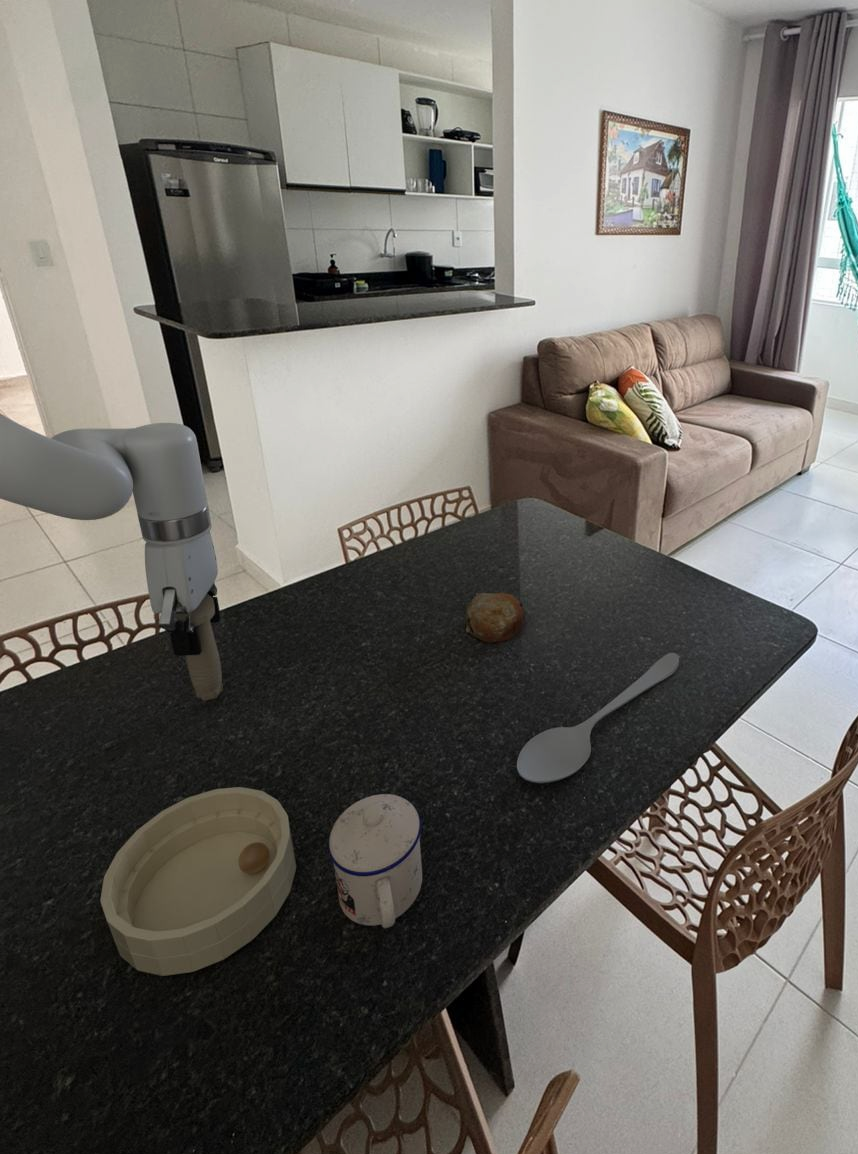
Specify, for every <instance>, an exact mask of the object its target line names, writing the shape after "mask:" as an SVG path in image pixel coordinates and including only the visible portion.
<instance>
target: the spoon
mask: <svg viewBox="0 0 858 1154" xmlns="http://www.w3.org/2000/svg"><path fill="white" fill-rule="evenodd" d="M679 664H680V657H679V655H678V653H676V652H669V653H667V654H664V656H662V657H660V658H659V659H658V660H657V661H655V662H654V663H653V664H652V665H651V666H650V667H649V668H648V670H646V671H645V672H644V673H643V674H642V675H641V676H640V677H639V678H638V679H637V680H635V681H634V682H633V683H632V684H631V685H629V686H627V688H626V689H624V690H623V691H622V692H621V693H619V694H618V695H617V696H616V697H615V698H614V699H612V700H610V702H609V703H607V704H606V705H605V706H603V707H602V708H601V709H599V710H598V711H597V712H596V713H594V714H593V715H592V716H590V717H589V718H587V719H586V720H584V721H583V722H581V723H579V724H576V725H574V726H567V727H566V726H562V727H560V726H559V727H553V728H549V729H547V730H545V731H542V732H539V733H538V734H536V735H535V736H533V737H532V738H530V739H529V740H528V741H527V742H526V743H525V744H524V746H523V747H522V749H521V750H520V752H519V754H518V757H517V759H516V769H517V770H516V771H517V773H518V774H519V776H520V777H521V778H522V779H523V780H525V781H527V782H530V783H534V784H546V783H547V784H548V783H554V782H558V781H561V780H564V779H566V778H569V777H570V776H572V775H574V774H575V773H577V772H578V771H579V770H580V769H582V767H583V766H584V765H585V764H586V763H587V762H588V760H589V758H590V756H591V751H592V745H591V732H592V731H593V728H594V727H595V725H596V724H597V723H598V722H600V720H601V719H603V718H605V717H606V716H608V715H610V714H611V713H613V712H614V711H616V710H617V709H619V708H620V707H622V706H624V705H626V704H627V703H629V702H630V701H632V700H633V699H635V698H636V697H637V696H639V695H641V694H643V693H644V692H645V691H648V690H649V689H650V688H652V687H653V686H656V685H657V684H659V683H661V682H662V681H664V680H666V679H667V678H669V677H671V676H672V675H673V674H674V673H675V672H676V671H677V670H678V668H679Z"/></svg>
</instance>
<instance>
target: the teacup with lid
mask: <svg viewBox="0 0 858 1154" xmlns="http://www.w3.org/2000/svg"><path fill="white" fill-rule="evenodd" d="M421 830H422V822H421V818H420V815H419V812H418V811H417V808H415V807H414V805H413V804H412V803H411V802H410V801H409V800H407V799H405V798H404V797H401V796H399V795H395V794H390V793H389V794H388V793H382V794H375V795H370V796H367V797H364V798H362V799H360V800H358V801H356V802H355V803H353V804H352V805H350V806H349V807H348V808H346V809H345V810H344V811H343V812H342V813H341V814H340V815H339V816H338V818H337V820H336V821H335V823H334V824H333V826H332V829H331V831H330V834H329V837H328V845H327V847H328V854H329V857H330V859H331V861H332V863H333V869H334V875H335V881H336V882H335V883H336V887H337V888H336V889H337V895H338V901H339V902H338V903H339V906H340V908H341V910H342V912H343V913H344V915H345V916H346V917H347V918H348V919H349V920H351V921H352V922H355V923H356V924H358V925H363V926H369V927H370V926H372V927H373V926H380V925H381V927H382V928H383V929H389V928H390V927H393V926H394V925H395V923H396V919H397V918H399V917H400V916H402V915H404V913H405V912H407V911H408V910H409V909H410V908H411V906H412V905H413V904H414V902H415V901H416V900H417V898H418V895H419V894H420V891H421V888H422V884H423V866H422V854H421V853H422V852H421V841H420V840H421V839H420V836H421Z"/></svg>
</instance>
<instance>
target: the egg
mask: <svg viewBox="0 0 858 1154" xmlns="http://www.w3.org/2000/svg"><path fill="white" fill-rule="evenodd" d="M269 855H270V854H269V849H268V847H267V846H266V845H265V844H263V843H260V842H255V843H252V844H250V845H248V846H246V847H245V848H244V849H243V851H242V852H241V854H240V856H239V861H238V862H239V867H240V869H241V870H242V871H243V872H244V873H247V874H254V873H257V872H259V871H261V870H262V869H263V868H264V867H265V866H266V864H267V863H268V860H269Z"/></svg>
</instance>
